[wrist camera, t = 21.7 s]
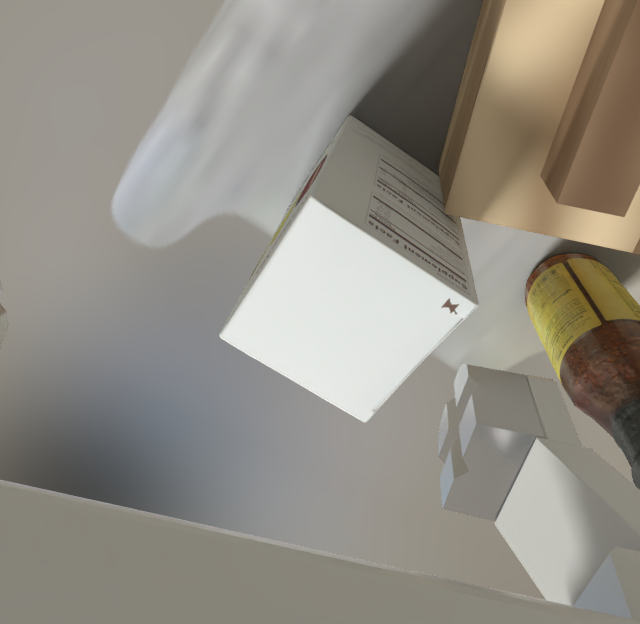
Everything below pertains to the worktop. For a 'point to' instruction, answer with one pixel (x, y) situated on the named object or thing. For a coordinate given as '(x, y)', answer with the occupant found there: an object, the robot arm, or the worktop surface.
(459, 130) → the bread box
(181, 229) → the worktop surface
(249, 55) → the worktop surface
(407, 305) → the supplement box
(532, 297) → the sauce bottle
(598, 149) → the walnut batten
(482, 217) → the lid
